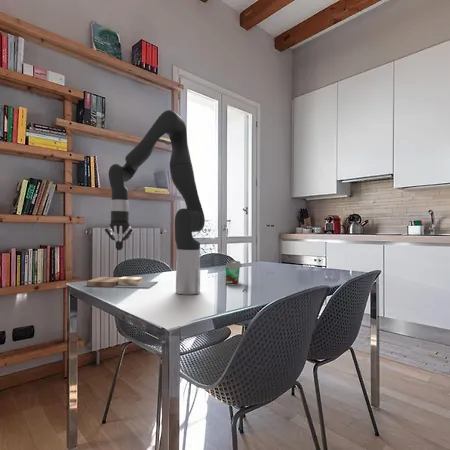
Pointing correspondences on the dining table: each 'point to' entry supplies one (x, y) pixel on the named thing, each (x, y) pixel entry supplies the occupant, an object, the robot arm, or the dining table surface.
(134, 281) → the beech tile
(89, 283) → the block
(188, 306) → the dining table surface
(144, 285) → the charcoal mat
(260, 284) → the dining table surface
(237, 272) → the food container
